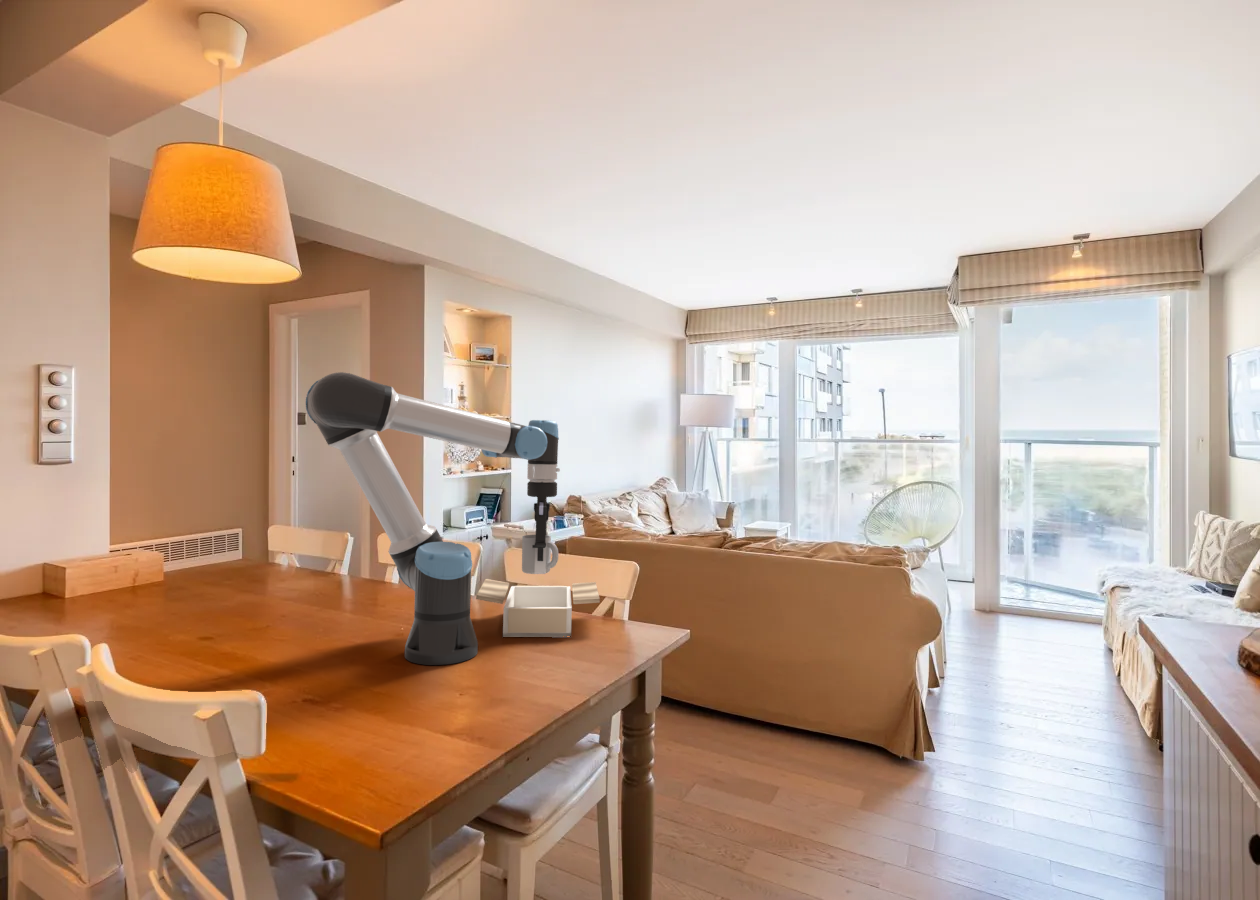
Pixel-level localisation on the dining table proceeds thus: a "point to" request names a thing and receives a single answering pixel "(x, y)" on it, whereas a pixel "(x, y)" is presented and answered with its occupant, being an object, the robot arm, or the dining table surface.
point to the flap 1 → (493, 591)
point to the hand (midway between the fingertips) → (540, 570)
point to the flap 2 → (585, 593)
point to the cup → (529, 554)
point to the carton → (538, 611)
